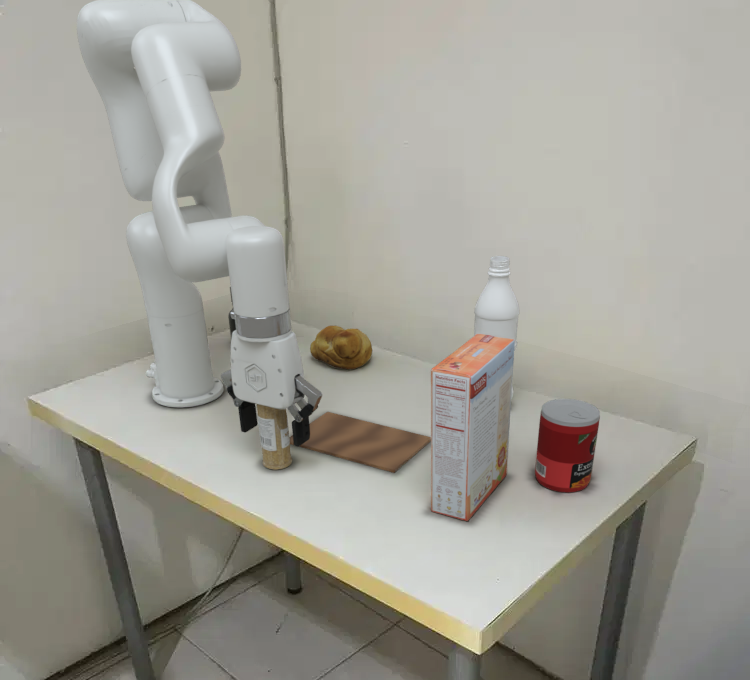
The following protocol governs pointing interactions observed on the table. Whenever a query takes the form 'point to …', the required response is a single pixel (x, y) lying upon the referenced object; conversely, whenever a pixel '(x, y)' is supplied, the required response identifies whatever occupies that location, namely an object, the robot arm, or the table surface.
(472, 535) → the table surface
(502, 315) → the water bottle
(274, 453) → the spice jar
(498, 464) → the cracker box
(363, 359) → the bread roll
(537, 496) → the table surface
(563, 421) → the canned food
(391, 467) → the wooden board
